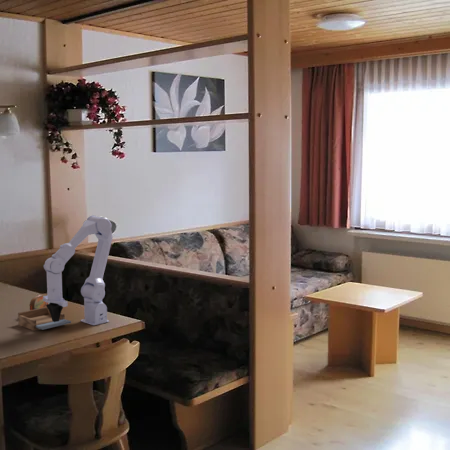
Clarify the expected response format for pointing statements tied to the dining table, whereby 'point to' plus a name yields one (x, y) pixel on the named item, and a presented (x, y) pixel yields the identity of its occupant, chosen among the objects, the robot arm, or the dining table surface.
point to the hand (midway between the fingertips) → (55, 321)
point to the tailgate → (53, 324)
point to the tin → (38, 302)
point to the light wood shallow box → (36, 318)
